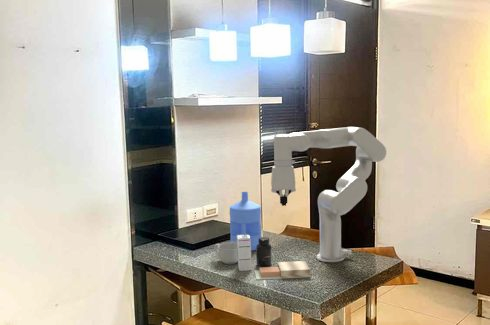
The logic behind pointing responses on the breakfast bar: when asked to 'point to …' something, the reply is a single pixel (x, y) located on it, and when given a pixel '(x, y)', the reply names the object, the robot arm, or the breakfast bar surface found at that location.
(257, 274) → the mat
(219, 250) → the teacup
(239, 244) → the syrup box
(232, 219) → the water jug
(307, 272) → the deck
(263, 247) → the supplement bottle
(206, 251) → the breakfast bar surface
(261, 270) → the tile
